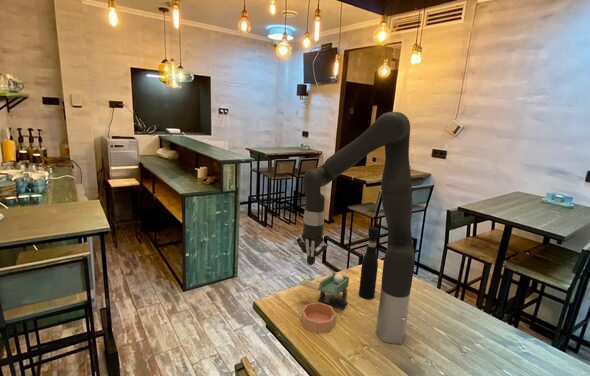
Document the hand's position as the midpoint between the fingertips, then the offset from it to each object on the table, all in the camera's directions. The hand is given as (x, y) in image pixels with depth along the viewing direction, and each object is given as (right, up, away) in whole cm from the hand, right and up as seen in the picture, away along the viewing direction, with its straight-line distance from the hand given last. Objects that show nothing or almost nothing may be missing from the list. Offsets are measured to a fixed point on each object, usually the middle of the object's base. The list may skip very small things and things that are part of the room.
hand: (310, 264), depth 121 cm
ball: (+12, -8, +7) cm, 16 cm away
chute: (+5, -12, +5) cm, 14 cm away
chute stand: (+9, -17, +5) cm, 20 cm away
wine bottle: (+24, -16, +12) cm, 31 cm away
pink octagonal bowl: (+2, -19, -7) cm, 21 cm away
